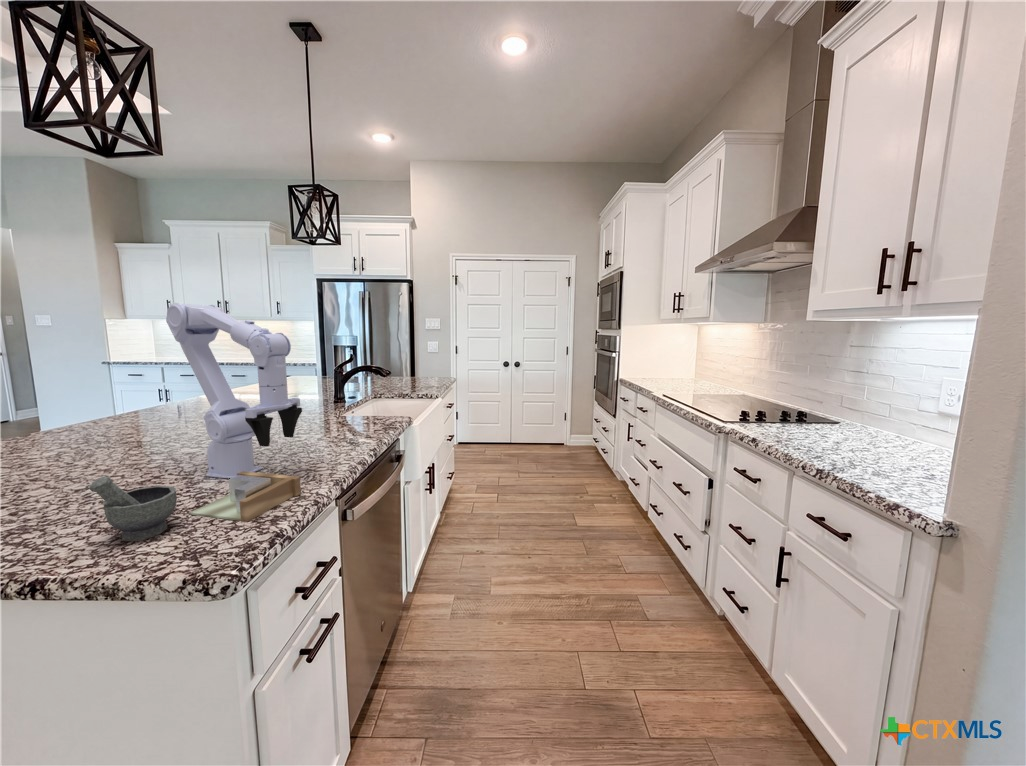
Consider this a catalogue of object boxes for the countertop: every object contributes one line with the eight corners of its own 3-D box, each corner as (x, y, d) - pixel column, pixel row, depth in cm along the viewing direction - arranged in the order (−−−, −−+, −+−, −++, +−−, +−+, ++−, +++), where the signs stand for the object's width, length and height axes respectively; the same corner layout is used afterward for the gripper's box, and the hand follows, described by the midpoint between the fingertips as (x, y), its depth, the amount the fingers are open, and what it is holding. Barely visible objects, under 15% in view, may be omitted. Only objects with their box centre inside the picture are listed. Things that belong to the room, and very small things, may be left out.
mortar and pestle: (163, 515, 79) (157, 456, 77) (191, 525, 75) (184, 464, 73) (85, 542, 69) (75, 476, 67) (111, 556, 65) (102, 486, 63)
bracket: (272, 500, 85) (270, 478, 85) (246, 514, 79) (245, 490, 78) (240, 497, 87) (238, 475, 86) (212, 510, 80) (210, 486, 80)
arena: (186, 514, 80) (184, 494, 79) (243, 487, 93) (242, 471, 92) (251, 522, 77) (249, 502, 76) (300, 493, 90) (299, 476, 89)
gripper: (263, 390, 86) (267, 451, 88) (309, 381, 100) (312, 434, 102) (235, 389, 87) (240, 449, 89) (284, 380, 101) (288, 432, 103)
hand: (277, 441), depth 96 cm, fingers open, 7 cm apart
